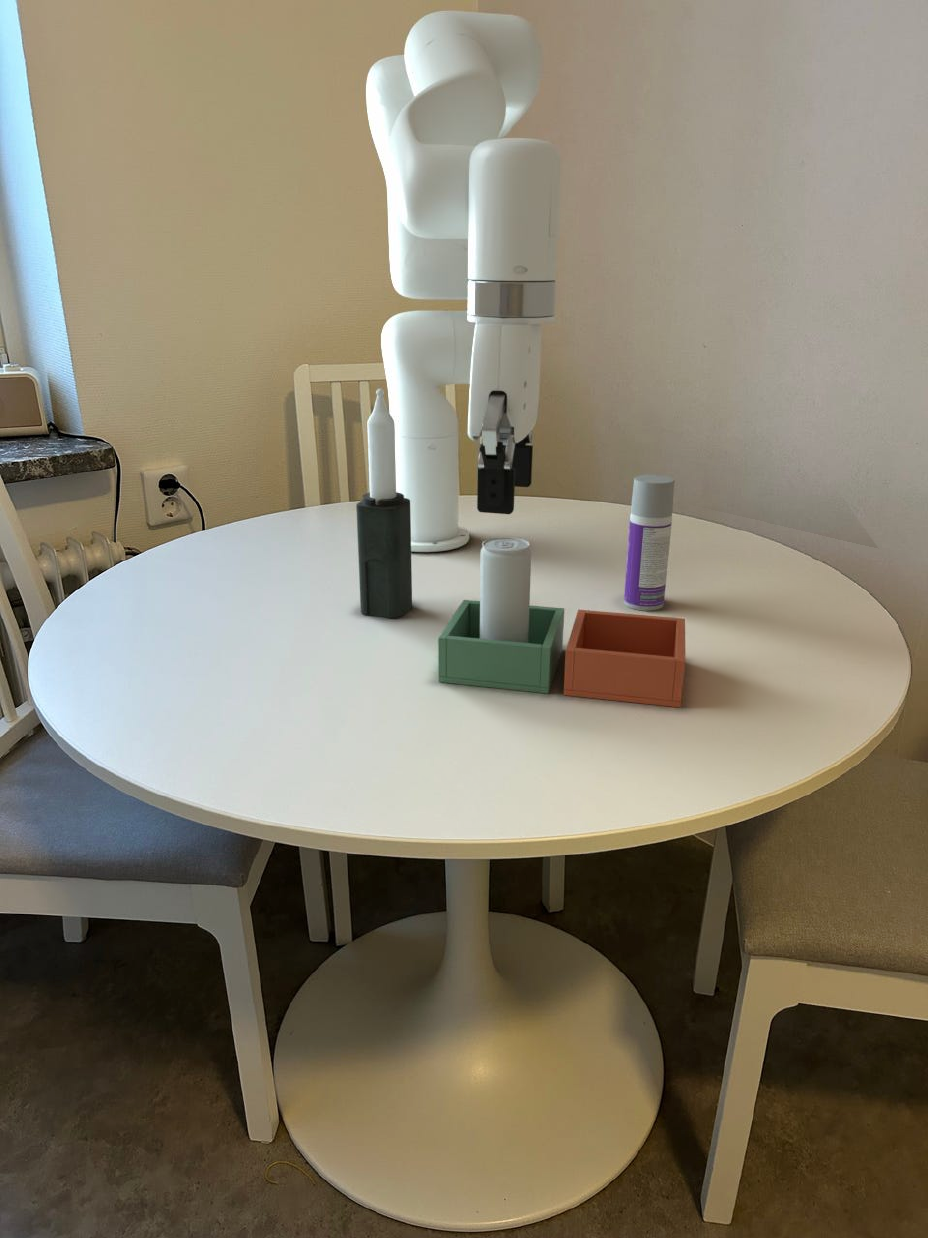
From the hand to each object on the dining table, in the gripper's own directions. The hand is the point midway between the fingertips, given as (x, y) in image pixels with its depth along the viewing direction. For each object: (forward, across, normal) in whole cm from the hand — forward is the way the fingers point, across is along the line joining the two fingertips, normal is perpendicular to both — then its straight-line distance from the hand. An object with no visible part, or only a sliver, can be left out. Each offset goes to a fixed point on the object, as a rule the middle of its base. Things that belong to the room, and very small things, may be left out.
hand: (505, 498), depth 81 cm
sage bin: (+17, +1, 0) cm, 17 cm away
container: (+17, -20, +13) cm, 30 cm away
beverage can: (+16, +1, 0) cm, 17 cm away
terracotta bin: (+17, +1, +12) cm, 21 cm away
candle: (+18, -11, -16) cm, 26 cm away
